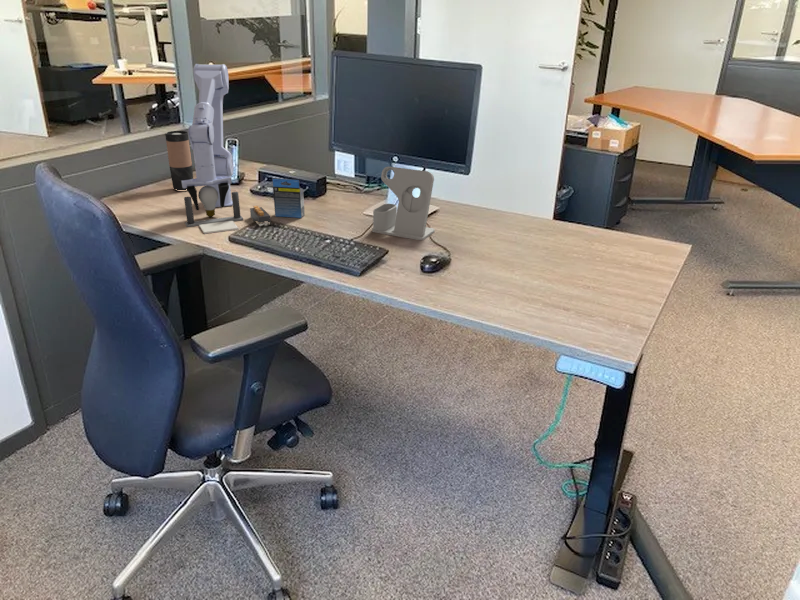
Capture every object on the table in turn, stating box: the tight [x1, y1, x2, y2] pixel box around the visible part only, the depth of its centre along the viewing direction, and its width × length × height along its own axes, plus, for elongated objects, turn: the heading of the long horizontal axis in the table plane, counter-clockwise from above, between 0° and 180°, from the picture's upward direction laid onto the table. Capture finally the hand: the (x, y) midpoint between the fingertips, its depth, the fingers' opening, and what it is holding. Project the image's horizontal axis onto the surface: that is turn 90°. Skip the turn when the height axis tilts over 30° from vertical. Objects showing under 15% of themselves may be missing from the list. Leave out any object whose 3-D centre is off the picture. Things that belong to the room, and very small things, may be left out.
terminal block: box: [249, 205, 272, 223], centre depth 192 cm, size 10×4×4 cm, turn 27°
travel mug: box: [164, 130, 194, 190], centre depth 221 cm, size 8×8×20 cm
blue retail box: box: [271, 177, 305, 219], centre depth 196 cm, size 9×4×12 cm, turn 80°
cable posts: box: [183, 191, 244, 228], centre depth 190 cm, size 3×17×8 cm, turn 117°
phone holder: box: [371, 166, 436, 241], centre depth 183 cm, size 17×10×18 cm, turn 64°
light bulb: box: [197, 186, 218, 218], centre depth 194 cm, size 6×6×10 cm
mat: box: [199, 221, 239, 235], centre depth 187 cm, size 8×10×1 cm
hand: (209, 208), depth 195 cm, fingers open, 7 cm apart
